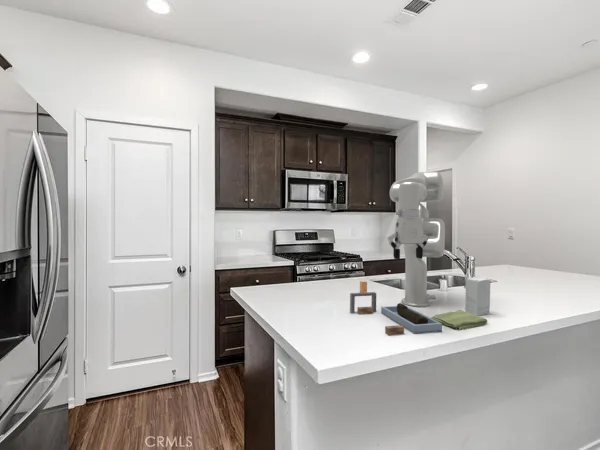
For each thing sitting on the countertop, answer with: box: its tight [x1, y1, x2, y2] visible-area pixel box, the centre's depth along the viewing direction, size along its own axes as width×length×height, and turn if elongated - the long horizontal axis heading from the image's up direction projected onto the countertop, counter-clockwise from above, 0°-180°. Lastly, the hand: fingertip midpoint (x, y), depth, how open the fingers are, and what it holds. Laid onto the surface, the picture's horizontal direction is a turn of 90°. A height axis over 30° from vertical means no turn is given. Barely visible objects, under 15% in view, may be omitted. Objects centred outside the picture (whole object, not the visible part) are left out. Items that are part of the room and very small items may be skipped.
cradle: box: [357, 306, 405, 336], centre depth 121 cm, size 6×26×2 cm, turn 13°
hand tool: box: [396, 302, 428, 325], centre depth 122 cm, size 19×4×5 cm, turn 8°
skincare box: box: [464, 276, 491, 317], centre depth 134 cm, size 8×6×15 cm
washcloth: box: [430, 309, 488, 331], centre depth 122 cm, size 13×18×3 cm
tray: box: [380, 305, 443, 335], centre depth 122 cm, size 11×24×3 cm, turn 13°
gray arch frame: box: [349, 280, 377, 314], centre depth 135 cm, size 11×2×13 cm, turn 103°
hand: (408, 258), depth 123 cm, fingers open, 9 cm apart
